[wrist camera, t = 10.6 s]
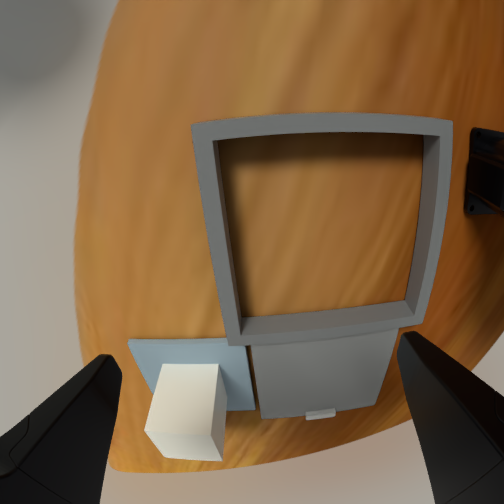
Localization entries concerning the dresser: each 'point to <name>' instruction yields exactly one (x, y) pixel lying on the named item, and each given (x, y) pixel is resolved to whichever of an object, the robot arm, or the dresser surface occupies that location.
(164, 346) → the mat
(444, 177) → the grey open frame
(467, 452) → the robot arm
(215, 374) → the block
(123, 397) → the dresser surface
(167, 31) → the dresser surface
